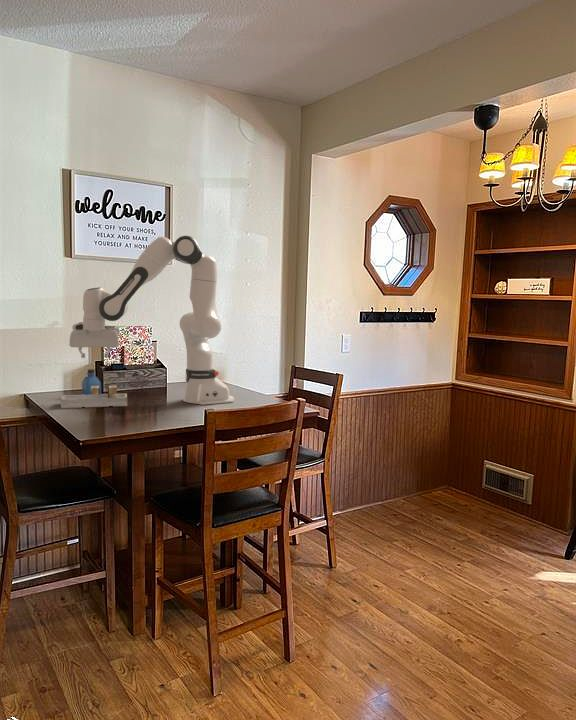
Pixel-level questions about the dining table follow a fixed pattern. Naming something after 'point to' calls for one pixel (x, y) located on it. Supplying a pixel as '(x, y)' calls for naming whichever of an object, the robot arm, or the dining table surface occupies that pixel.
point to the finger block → (95, 390)
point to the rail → (93, 400)
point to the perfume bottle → (90, 382)
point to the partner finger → (112, 391)
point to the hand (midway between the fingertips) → (94, 357)
